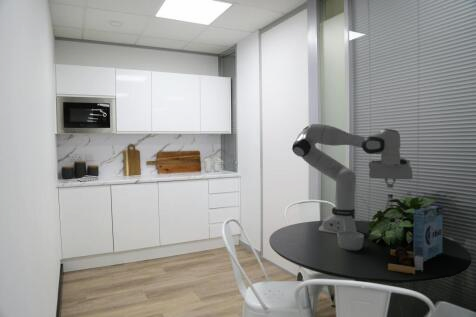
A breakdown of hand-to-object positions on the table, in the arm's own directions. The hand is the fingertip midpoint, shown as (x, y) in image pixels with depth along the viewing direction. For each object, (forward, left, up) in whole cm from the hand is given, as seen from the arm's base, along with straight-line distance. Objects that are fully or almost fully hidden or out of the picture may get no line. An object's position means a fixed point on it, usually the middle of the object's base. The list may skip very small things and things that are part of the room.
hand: (390, 187), depth 167 cm
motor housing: (+7, -23, -31) cm, 39 cm away
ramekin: (-18, -9, -31) cm, 37 cm away
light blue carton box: (+17, -7, -31) cm, 36 cm away
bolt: (+7, -22, -32) cm, 39 cm away
